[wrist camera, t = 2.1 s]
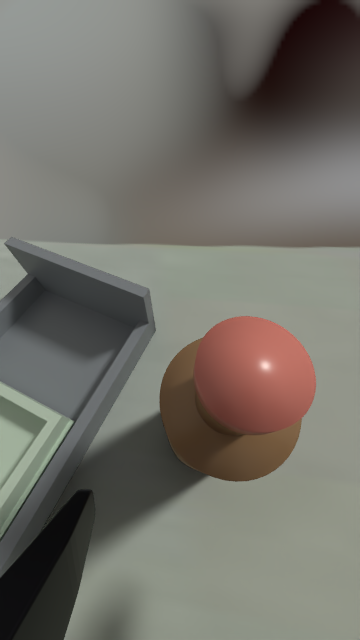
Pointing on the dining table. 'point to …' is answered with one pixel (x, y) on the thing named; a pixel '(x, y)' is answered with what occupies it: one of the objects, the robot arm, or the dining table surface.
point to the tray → (25, 448)
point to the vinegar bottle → (237, 399)
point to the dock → (67, 361)
